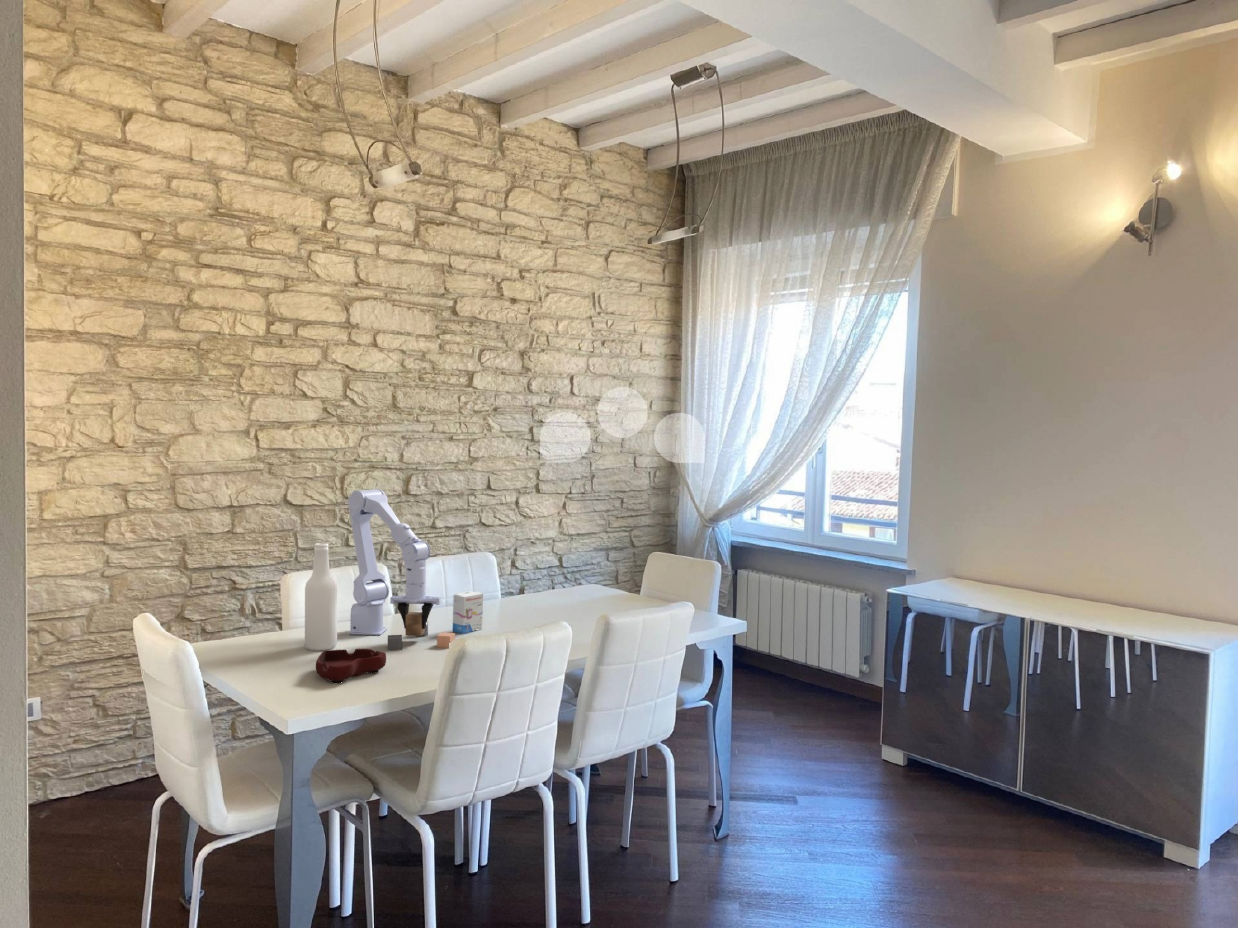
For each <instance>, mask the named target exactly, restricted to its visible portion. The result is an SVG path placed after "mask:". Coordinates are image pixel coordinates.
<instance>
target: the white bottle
mask: <svg viewBox="0 0 1238 928" xmlns="http://www.w3.org/2000/svg"><path fill="white" fill-rule="evenodd" d="M329 545H330V544H329V543H328V542H316V543H314V544H313V547H314V548H313V550H314V551H313V552H314V555H313V563H312V573H311V576H310V577H309V578H308V580H307V581H306V582H305V586H304V647H305V649H307V650H308V649H309V650H308V651H311V650H315V651H314V652H323V651H324V650H325V651H327V650H333V649H335V648H336V646H337V645H338V584H337V581H336V580H335V578H334V577H333V576H332V574H331V571H330V559H329V558H330V556H329V549H330V548H329ZM332 648H333V649H332Z"/></svg>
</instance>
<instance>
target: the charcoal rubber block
mask: <svg viewBox="0 0 1238 928" xmlns="http://www.w3.org/2000/svg"><path fill="white" fill-rule="evenodd" d="M401 650H403V634H388V635H387V651H401Z"/></svg>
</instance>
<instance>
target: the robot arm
mask: <svg viewBox="0 0 1238 928" xmlns="http://www.w3.org/2000/svg"><path fill="white" fill-rule="evenodd" d="M388 501H389V500H388V495H386V494H385V492H384V491H383V490H382V489H381V488H375V489H363V490H358V489H357V490H353V491H352V492H351V493H350V495H349V497H348V498H347V503H348V509H349V518H350V519H349V520H350V525H351V531H352V538H353V542H354V550H355V554H356V555H355V556H356V560H357V561H356V562H357V566H358V572H359V574H358V575H357V577H356V578H355V579H354V580H353V591H352V595H353V599H354V600H355V603H353V604H352V605H351V608H350V629H349V630H350V632H349V635H364V636H365V635H366V636H367V635H368V636H369V635H371V636H373V635H375V636H380V635H382V634H383V633H385V631H387V630H388V627H384V604H385V603H386V599H388V598H389V594H390V587H389V585H388V583H387V580H386V577H385V576H386V575H384V574H383V573H382V572H380V571H379V570H378V565H377V559H376V554H375V548H374V542H373V537H372V529H371V524H370V520H371V519H372V517H373V516H374V515H377V516H378V518H380V519H381V521H382V522H383V523H384V524H385V525H386V526H387V527H388V528H389V530H390V537H391V538H392V539H393V541H394V542H395V543H396V545H398V547H399V548H400V550H402V551H401V556H402V559H403V563H404V565H403V566H404V568H405V595H392V596H390V598H389V599H390V600H389V601H390V602H389V604H391V605H392V604H397V607H396V608H397V610H398V613H399V614H400V616H401V619H402V622H403V627H404V629H406V615H407V614H408V613H409V612H410V611H409V610H410V605H422V606H421V612H422V629H425V628H426V623H427V621H428V618H429V616H430V613H431V612H432V609H433V607H434V605H435V606H439V605H440V604H441V602H442V600H441V597H440V596H429V595H426V584H427V583H426V582H427V581H426V579H427V572H426V571H427V565H426V564H427V560H428V559H429V557H430V556H431V547H430V545H429V544H428V542H427V541H425V540H422V539H420V538H418V536H417V535H416V534H415V533H414V532H413V530H412V529H411V527H410V525H409V524H407V523H405V522H404V523H401V521H400V520H399V518H398V517H397V515H396V513H395V512H394V511H393V509H392V508H391V506H390V504H389V503H388Z"/></svg>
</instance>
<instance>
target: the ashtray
mask: <svg viewBox="0 0 1238 928" xmlns="http://www.w3.org/2000/svg"><path fill="white" fill-rule="evenodd" d="M386 663H387V655H386V652H384V651H380V650H374V649H372V648H355V649H354V651H353V652H352V653H351V652H348V650H347V649H330V650H325V651H321V653H320V655H318V657H317V659H316V660H315V671H316V674H317V676H319V677H320V678H322V679H323V680H327V681H331V682H332V683H331V684H334V683H338V684H342V683H344V682H343V681H346V680H349V679H350V678H356V677H359V676H361V675H364V674H366V673H367V672H368V673H367V674H376V673H375V672H377V673H378V672H379V670H382V669H383V668H384V667H385V666H386ZM341 682H342V683H341Z"/></svg>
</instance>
